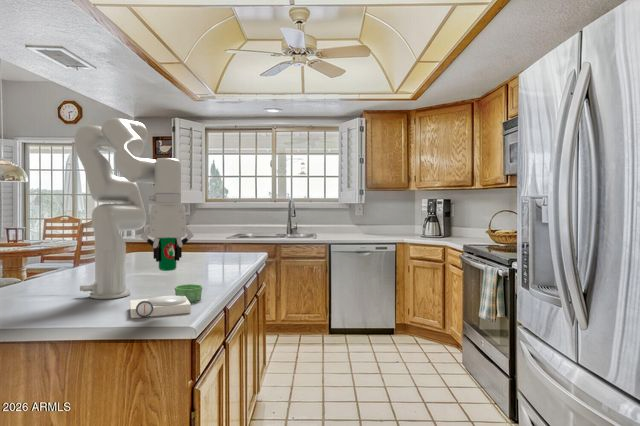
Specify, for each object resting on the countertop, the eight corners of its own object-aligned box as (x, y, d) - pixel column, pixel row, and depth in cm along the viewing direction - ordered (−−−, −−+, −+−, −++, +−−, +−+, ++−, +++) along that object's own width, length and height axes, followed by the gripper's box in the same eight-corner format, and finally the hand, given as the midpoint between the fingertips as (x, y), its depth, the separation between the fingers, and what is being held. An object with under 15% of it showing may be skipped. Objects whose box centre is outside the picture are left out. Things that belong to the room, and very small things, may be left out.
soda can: (161, 268, 127) (161, 229, 127) (178, 268, 127) (178, 229, 127) (156, 271, 122) (156, 230, 122) (174, 271, 122) (174, 230, 122)
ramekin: (194, 303, 134) (194, 290, 134) (168, 301, 135) (168, 288, 135) (207, 297, 142) (207, 285, 142) (183, 296, 144) (183, 283, 144)
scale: (130, 318, 115) (130, 302, 115) (130, 308, 126) (130, 293, 126) (191, 313, 121) (191, 297, 121) (185, 303, 133) (185, 289, 133)
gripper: (136, 199, 117) (136, 263, 118) (199, 200, 125) (198, 260, 125) (136, 199, 124) (136, 260, 124) (195, 200, 131) (195, 258, 132)
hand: (167, 260), depth 125 cm, fingers closed on soda can, 5 cm apart
